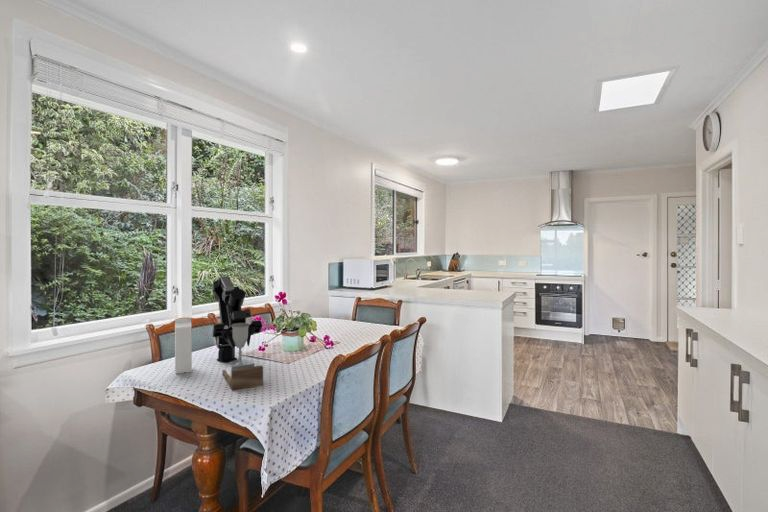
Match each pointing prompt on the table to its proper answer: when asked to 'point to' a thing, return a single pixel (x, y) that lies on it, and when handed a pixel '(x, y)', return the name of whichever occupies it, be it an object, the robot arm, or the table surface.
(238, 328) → the chalice
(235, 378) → the brown wooden u-shaped piece
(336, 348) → the table surface
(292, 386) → the table surface
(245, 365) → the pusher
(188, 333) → the milk
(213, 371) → the table surface
